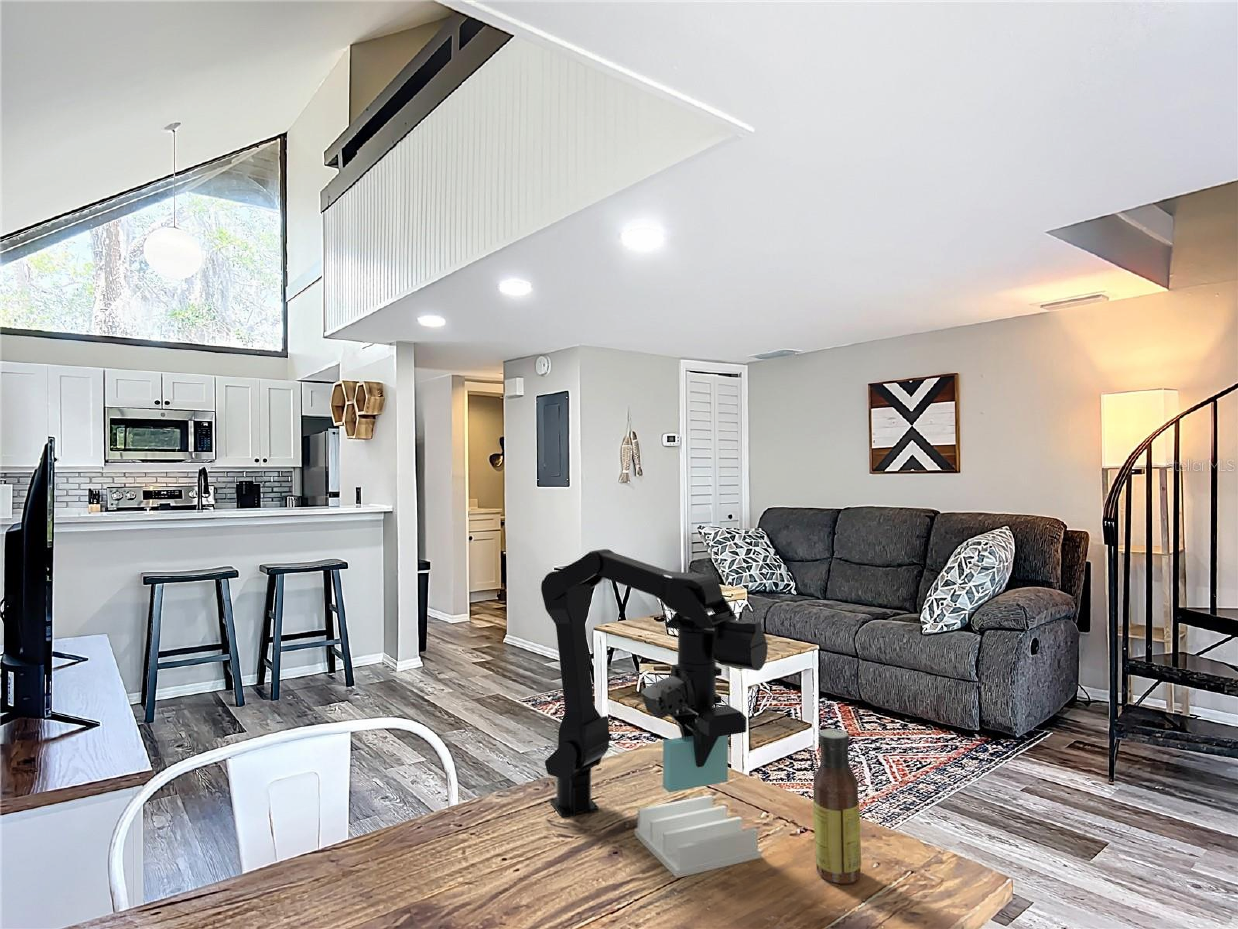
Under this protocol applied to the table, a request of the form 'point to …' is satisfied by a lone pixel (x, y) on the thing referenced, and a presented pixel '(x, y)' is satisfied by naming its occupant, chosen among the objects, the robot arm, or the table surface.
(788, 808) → the table surface
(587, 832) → the table surface
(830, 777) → the sauce bottle
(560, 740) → the robot arm
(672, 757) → the light blue block
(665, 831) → the dish rack
